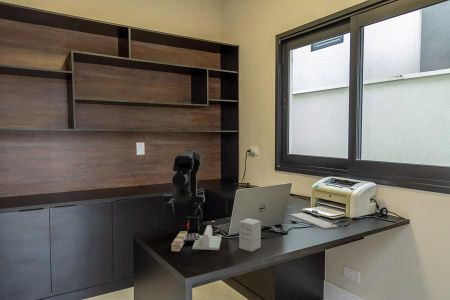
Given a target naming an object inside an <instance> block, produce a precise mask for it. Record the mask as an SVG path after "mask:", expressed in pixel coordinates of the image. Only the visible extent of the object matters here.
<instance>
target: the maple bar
mask: <svg viewBox="0 0 450 300" xmlns="http://www.w3.org/2000/svg"><path fill="white" fill-rule="evenodd" d="M186 236H187V237H188V231H187V230H183V231H182V230H181V231H179V233H178V234H177V236H176V237H175V238H174V240H173V241H172V243H171V244H170V245H171V247H170V248H171V249H170V251H171V252H180V251H181V249H182V248H183V246H184V244H185V242H184V240H185V237H186Z"/></svg>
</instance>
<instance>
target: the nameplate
mask: <svg viewBox="0 0 450 300" xmlns="http://www.w3.org/2000/svg"><path fill="white" fill-rule="evenodd" d="M268 229H269V230H268V232H269V233H274V234H276V235H285V236H287V235H288V234H289V232H288V231H286V230H285V229H281V228H280V227H278V228H277V227H276V226H269V228H268Z"/></svg>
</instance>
